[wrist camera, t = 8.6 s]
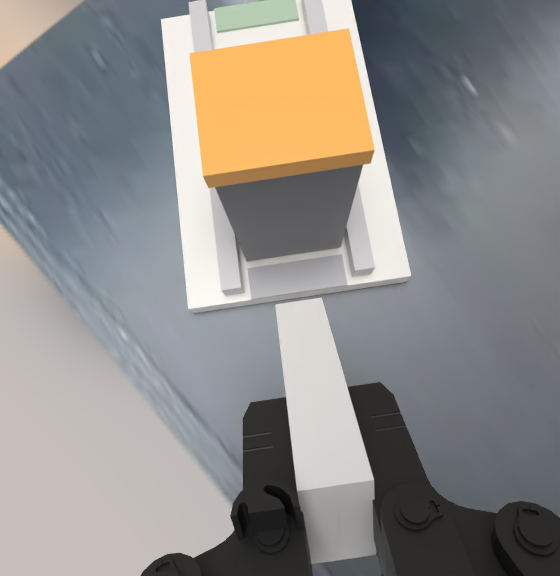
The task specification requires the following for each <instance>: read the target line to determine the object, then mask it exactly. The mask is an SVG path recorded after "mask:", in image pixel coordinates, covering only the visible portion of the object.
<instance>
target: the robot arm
mask: <svg viewBox="0 0 560 576" xmlns="http://www.w3.org/2000/svg"><path fill="white" fill-rule="evenodd" d="M275 306H276V315H277V324H278V332H279V341H280V349H281V358H282V366H283V375H284V384H285V392H286V397H284V398H278V399H271V400H264V401H257V402H251V403H250V405H249V407H248V409H247V411H246V413H245V415H244V417H243V491H241V492H240V494H239V495H238V497H237V498H236V500H235V501H234V503H233V507H232V511H231V519H232V522H233V526H234V529H235V530H234V532H233V533H232V534H231V535H230V536H229V537H228V538H227V539H226V540H225V541H224V542H222V543H221V544H219V545H218V546H216V547H214V548H213V549H210V550H208V551H206V552H204V553H203V554H201V555H199V556H197V557H195V558H192V557H191V556H188V555H185V554H182V553H175V554H167V555H165V556H163V557H161V558H159V559H157V560H155V561H154V562H153V563H151V564H150V565H149V566H148V567H147V569H145V570H144V571H143V573H142V574H141V576H313V574H312V566H311V564H317V563H323V562H330V561H337V560H344V559H351V558H358V557H365V556H371V555H376V550H377V554H378V558H379V562H380V566H381V573H382V576H560V518H559V517H558V516H556V515H555V514H554V513H553V512H552V511H550V510H548V509H546V508H544V507H542V506H539V505H537V504H535V503H529V502H523V501H519V502H514V503H509V504H507V505H506V506H504V507H503V508H502V509H500V510H499V512H498V513H492V512H486V511H480V510H474V509H469V508H465V507H461V506H458V505H456V504H454V503H452V502H450V501H448V500H446V499H445V498H444V497H442V496H441V495H440V494H438V493H437V491H436V490H435V489H434V488H433V487H432V486H431V484H430V482H429V480H428V479H427V476H426V474H425V472H424V469H423V467H422V464H421V462H420V459H419V457H418V454H417V452H416V449H415V447H414V444H413V442H412V439H411V437H410V435H409V432H408V430H407V428H406V425H405V422H404V420H403V417H402V415H401V414H400V410H399V407H398V405H397V402H396V400H395V398H394V395H393V394H392V393H391V392H390V391H389V390H388V389H387V388H386V387H385V386H384V385H383V384H381V383H380V382H378V383H372V384H365V385H358V386H351V387H347V384H346V381H345V377H344V374H343V370H342V367H341V363H340V360H339V356H338V353H337V349H336V346H335V343H334V339H333V336H332V332H331V329H330V325H329V322H328V318H327V315H326V311H325V308H324V304H323V301H322V298H316V299H309V300H302V301H296V302H289V303H282V304H275Z"/></svg>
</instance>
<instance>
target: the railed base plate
mask: <svg viewBox="0 0 560 576" xmlns="http://www.w3.org/2000/svg"><path fill="white" fill-rule="evenodd" d="M189 10H190V15H185V16H179V17H172V18H166V19H161V24H162V35H163V45H164V56H165V66H166V77H167V88H168V98H169V109H170V120H171V130H172V141H173V151H174V162H175V173H176V183H177V194H178V205H179V215H180V226H181V237H182V247H183V258H184V268H185V279H186V290H187V300H188V309H189V310H190V311H192V312H193V313H199V312H206V311H212V310H219V309H226V308H233V307H239V306H246V305H253V304H260V303H266V302H273V301H280V300H287V299H293V298H300V297H307V296H314V295H320V294H327V293H334V292H341V291H347V290H354V289H361V288H368V287H374V286H381V285H388V284H395V283H401V282H406V281H407V280H408V279H409V278H410V277H411V273H410V269H409V264H408V259H407V255H406V250H405V246H404V241H403V236H402V232H401V227H400V223H399V218H398V213H397V209H396V204H395V200H394V195H393V191H392V186H391V181H390V177H389V172H388V168H387V163H386V158H385V154H384V149H383V145H382V140H381V135H380V131H379V126H378V122H377V117H376V112H375V108H374V103H373V99H372V94H371V89H370V85H369V80H368V76H367V71H366V67H365V62H364V57H363V53H362V48H361V44H360V39H359V34H358V30H357V25H356V21H355V16H354V11H353V7H352V2H351V0H265V1H259V2H252V3H246V4H240V5H233V6H227V7H221V8H214V11H210V12H208V8H207V4H206V0H200V1H194V2H189ZM348 28H349V31H350V36H351V40H352V45H353V50H354V54H355V59H356V64H357V69H358V73H359V78H360V83H361V87H362V92H363V97H364V102H365V106H366V111H367V116H368V120H369V125H370V130H371V134H372V139H373V144H374V149H375V151H374V154H373V157H372V161H371V164H365V165H363V167H362V171H361V175H360V178H359V182H358V186H357V189H356V193H355V197H354V200H353V204H352V207H351V211H350V215H349V218H348V222H347V226H346V229H345V233H344V237H343V240H342V244H341V247H339V248H332V249H325V250H319V251H312V252H305V253H298V254H292V255H285V256H278V257H272V258H265V259H258V260H252V261H246V259H245V257H244V254H243V252H242V250H241V247H240V245H239V243H238V240H237V238H236V236H235V233H234V231H233V229H232V226H231V224H230V222H229V219H228V217H227V215H226V212H225V210H224V208H223V205H222V203H221V201H220V198H219V196H218V194H217V191H216V189H215V187H213V188H208V186H207V184H206V182H205V180H204V178H203V173H202V164H201V155H200V146H199V137H198V127H197V118H196V109H195V100H194V91H193V82H192V73H191V64H190V54H189V53H195V52H201V51H207V50H214V49H220V48H226V47H233V46H239V45H246V44H252V43H258V42H265V41H271V40H278V39H284V38H290V37H297V36H303V35H310V34H316V33H322V32H329V31H335V30H341V29H348Z"/></svg>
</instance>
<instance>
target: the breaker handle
mask: <svg viewBox="0 0 560 576" xmlns="http://www.w3.org/2000/svg"><path fill="white" fill-rule="evenodd" d="M189 54H190V64H191V73H192V82H193V91H194V100H195V109H196V118H197V127H198V137H199V146H200V155H201V164H202V173H203V178H204V180H205V182H206V184H207V186H208V188H213V187H215V189H216V191H217V194H218V196H219V198H220V201H221V203H222V205H223V208H224V210H225V212H226V215H227V217H228V219H229V222H230V224H231V226H232V229H233V231H234V233H235V236H236V238H237V240H238V243H239V245H240V247H241V250H242V252H243V254H244V257H245V259H246V261H252V260H258V259H265V258H272V257H278V256H285V255H292V254H298V253H305V252H312V251H319V250H325V249H332V248H339V247H341V244H342V240H343V237H344V233H345V229H346V226H347V222H348V218H349V215H350V211H351V207H352V204H353V200H354V197H355V193H356V189H357V186H358V182H359V178H360V175H361V171H362V167H363V165H365V164H371V161H372V157H373V154H374V151H375V149H374V144H373V139H372V134H371V130H370V125H369V120H368V116H367V111H366V106H365V102H364V97H363V92H362V87H361V83H360V78H359V73H358V69H357V64H356V59H355V54H354V50H353V45H352V40H351V36H350V31H349V28H348V29H341V30H335V31H329V32H322V33H316V34H310V35H303V36H297V37H290V38H284V39H278V40H271V41H265V42H258V43H252V44H246V45H239V46H233V47H226V48H220V49H214V50H207V51H201V52H195V53H189Z"/></svg>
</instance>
